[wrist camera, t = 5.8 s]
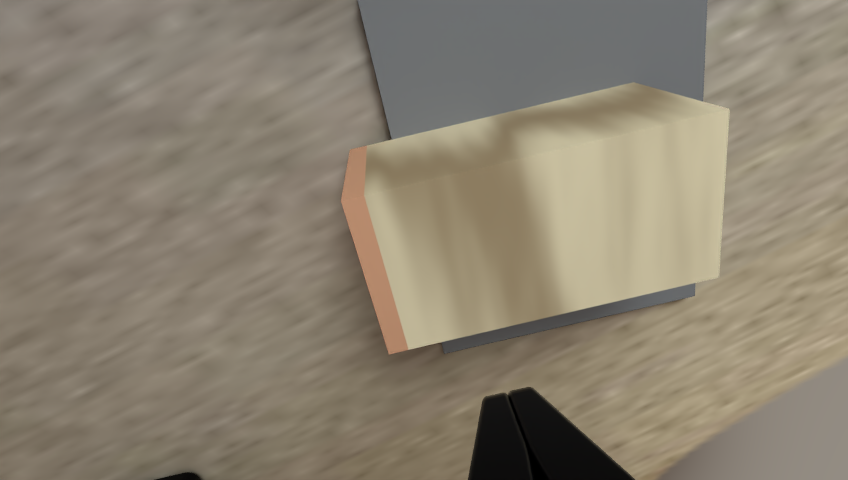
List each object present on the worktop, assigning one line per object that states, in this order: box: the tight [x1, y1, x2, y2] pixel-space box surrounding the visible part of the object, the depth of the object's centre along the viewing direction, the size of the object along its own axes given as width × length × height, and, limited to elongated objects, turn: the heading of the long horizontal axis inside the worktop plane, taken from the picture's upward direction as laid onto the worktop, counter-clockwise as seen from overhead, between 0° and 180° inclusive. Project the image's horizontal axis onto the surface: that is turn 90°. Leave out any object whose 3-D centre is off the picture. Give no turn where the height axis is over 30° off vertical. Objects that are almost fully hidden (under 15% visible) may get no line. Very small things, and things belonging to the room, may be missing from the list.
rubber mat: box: [358, 0, 707, 354], centre depth 18 cm, size 11×14×1 cm
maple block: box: [341, 82, 730, 354], centre depth 16 cm, size 5×5×10 cm
